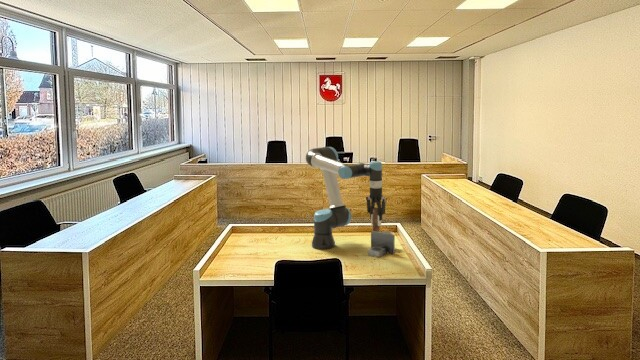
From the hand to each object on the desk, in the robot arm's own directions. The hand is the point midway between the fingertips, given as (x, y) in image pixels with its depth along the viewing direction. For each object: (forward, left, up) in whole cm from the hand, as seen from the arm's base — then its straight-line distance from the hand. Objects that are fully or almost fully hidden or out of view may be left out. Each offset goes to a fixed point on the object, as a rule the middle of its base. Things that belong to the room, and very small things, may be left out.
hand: (376, 224), depth 324 cm
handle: (0, 0, -3) cm, 3 cm away
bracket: (0, +3, -19) cm, 19 cm away
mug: (-4, +15, -19) cm, 24 cm away
